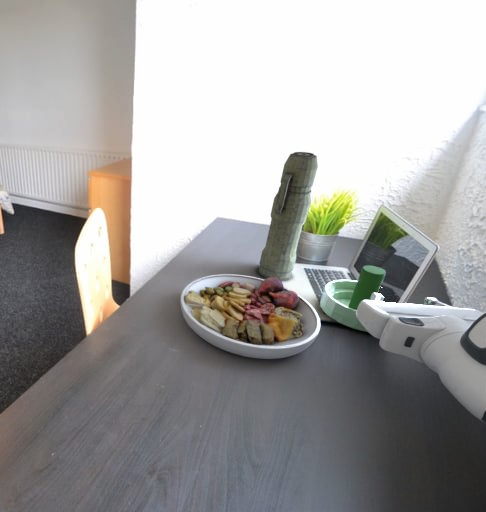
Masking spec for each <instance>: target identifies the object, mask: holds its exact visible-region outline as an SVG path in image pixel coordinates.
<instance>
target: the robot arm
mask: <svg viewBox="0 0 486 512" xmlns="http://www.w3.org/2000/svg"><path fill="white" fill-rule="evenodd" d="M384 298H385V297H384V296H383V295H382V294H381V293H372V295H371V298H370V299H371V300H362V301H361V302H360V304H359V306H358V308H357V312H356V316H357V318H358V320H359V321H360V323H361V324H362V325H363V326H364V328H365V329H366V330H367V331H368V332H367V333H369V334H370V335H371V336H372V337H374V338H375V339H378V340H379V343H378V344H379V347H380V348H381V349H382V350H383V351H385V352H388V353H392V354H395V355H398V356H403V357H405V358H408V359H411V360H414V361H416V362H418V363H421V364H424V365H426V366H427V367H428V368H429V370H431V371H433V372H434V373H436V374H437V375H438V377H439V380H440V382H441V384H442V385H443V386H444V387H445V388H446V390H447V391H448V392H449V393H450V394H451V395H452V396H453V397H454V399H456V400H457V402H459V404H461V405H462V407H463V408H464V409H466V410H467V412H469V413H470V414H471V415H473V417H475V418H476V419H478V420H479V421H480V422H482V423H485V424H486V312H483V311H480V310H477V309H474V308H463V307H454V306H451V305H449V304H447V303H444V302H442V301H439V300H438V299H437V298H436V297H428V296H427V297H425V298H424V300H423V303H422V304H416V303H407V302H405V303H396V302H385V301H383V300H384Z"/></svg>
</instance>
